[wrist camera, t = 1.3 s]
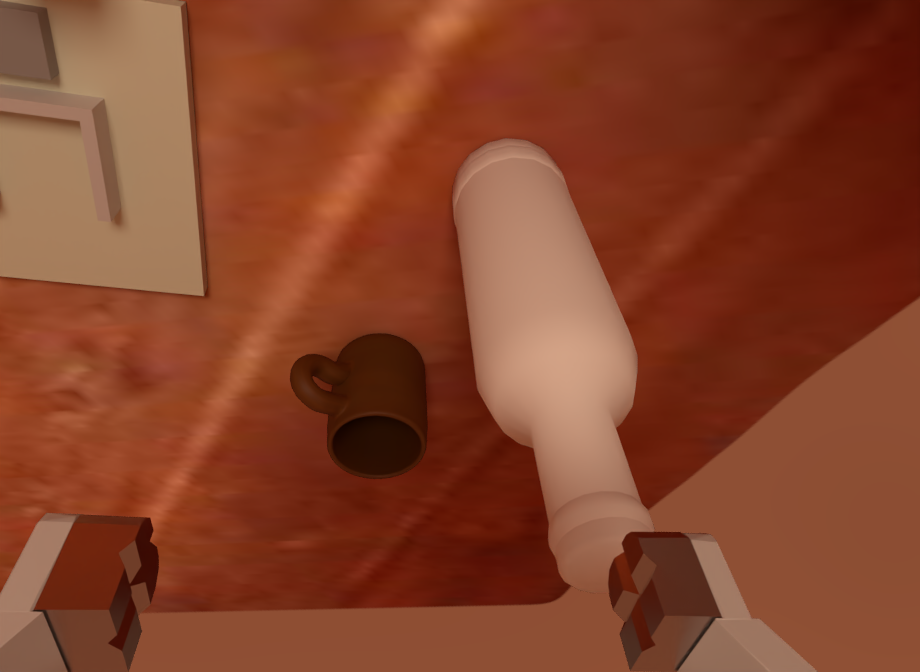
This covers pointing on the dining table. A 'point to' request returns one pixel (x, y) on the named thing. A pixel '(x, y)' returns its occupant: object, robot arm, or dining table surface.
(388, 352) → the mug
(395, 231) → the dining table surface
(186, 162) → the mount deck
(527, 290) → the bottle
